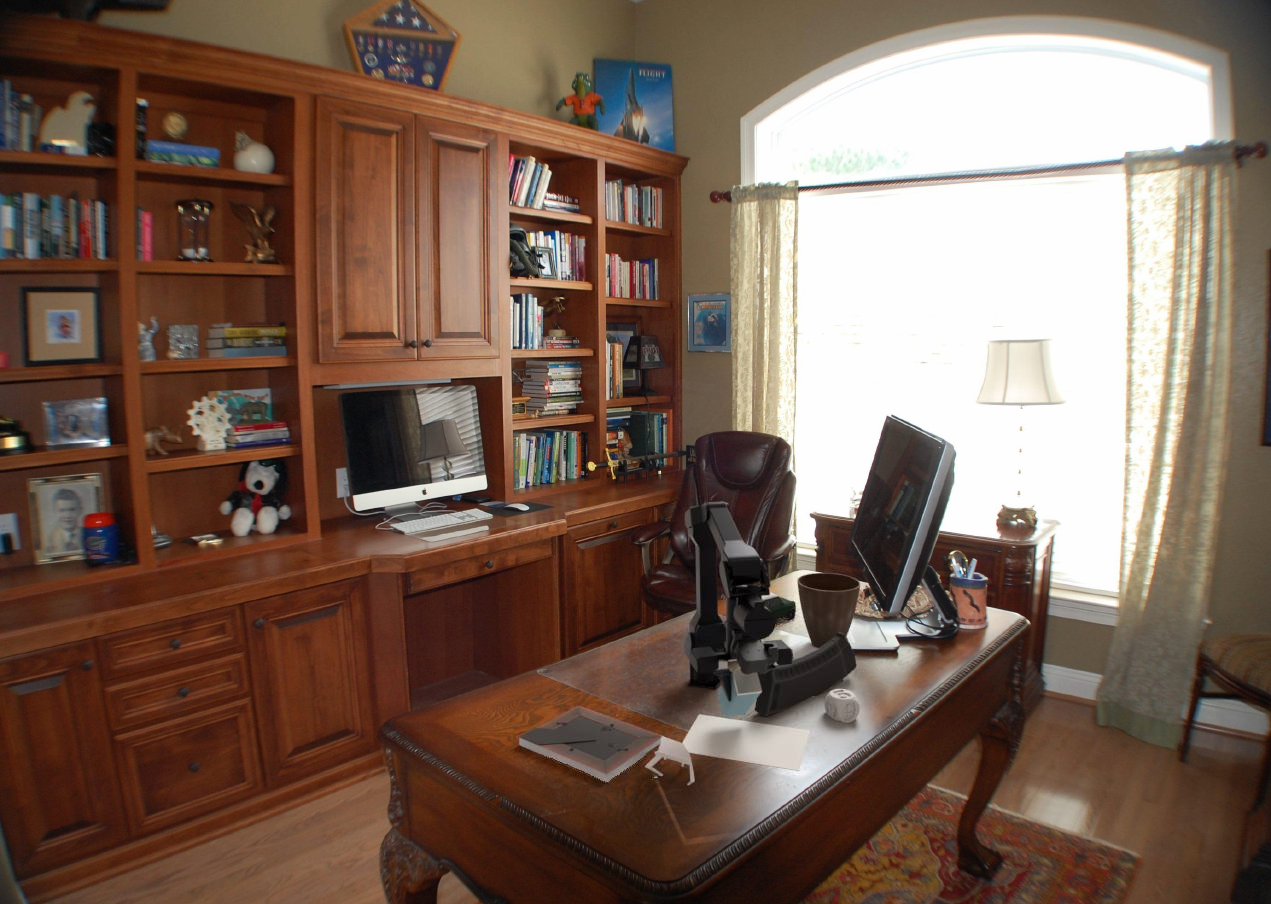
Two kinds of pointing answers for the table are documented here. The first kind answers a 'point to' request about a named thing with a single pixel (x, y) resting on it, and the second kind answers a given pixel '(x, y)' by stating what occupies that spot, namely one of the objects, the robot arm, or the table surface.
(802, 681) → the magazine
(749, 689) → the teal block
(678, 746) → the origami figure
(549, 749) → the picture frame
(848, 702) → the die
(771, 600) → the miniature car
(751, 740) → the cream rectangular board
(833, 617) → the plant pot
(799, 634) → the table surface
